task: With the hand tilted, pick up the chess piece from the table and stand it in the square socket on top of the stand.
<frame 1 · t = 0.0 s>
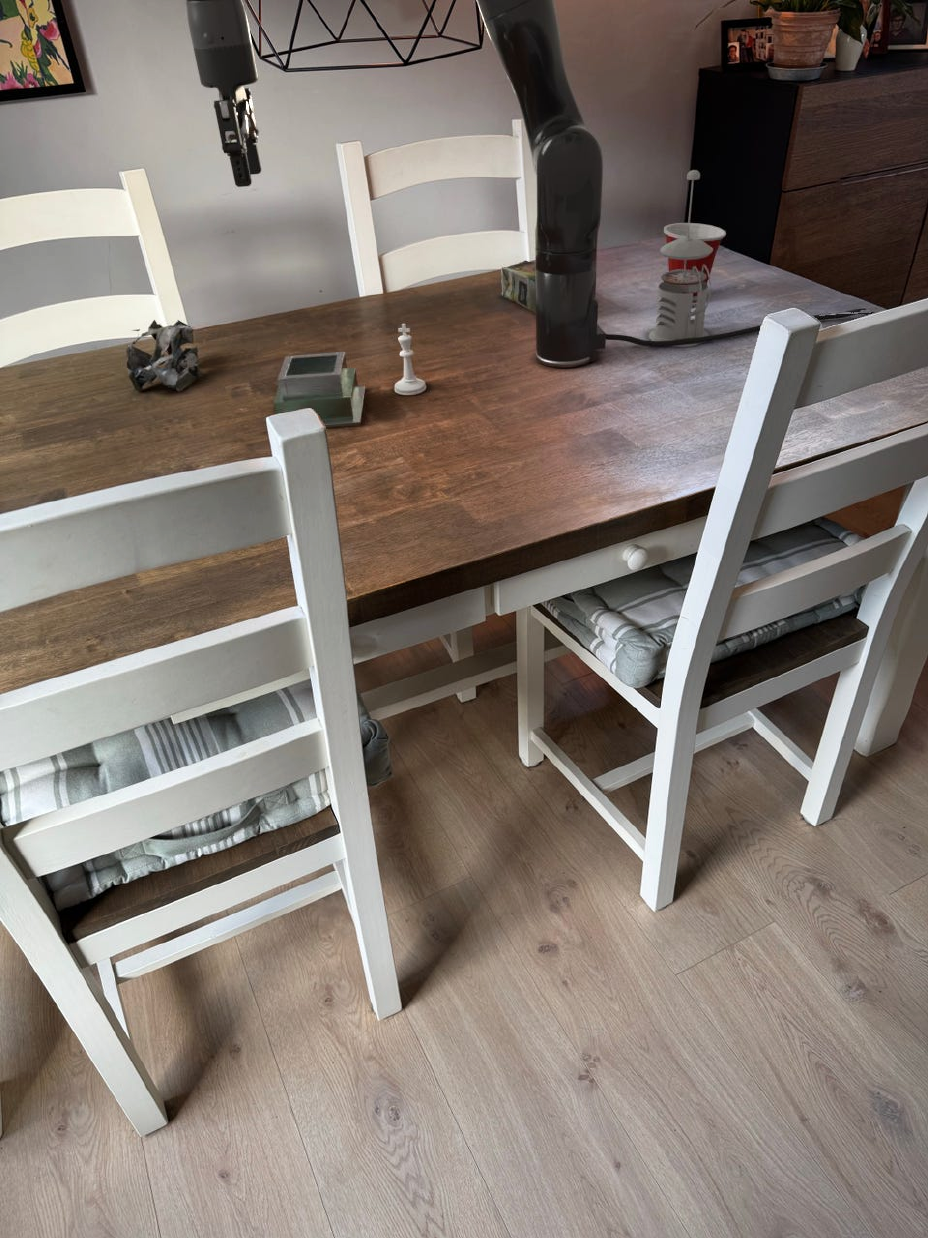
hand: (249, 179, 121), 29 cm above the table, tool pointing down, fingers open, 8 cm apart
plastic cup: (688, 298, 158), on the table
stand: (320, 410, 128), on the table
juice carton: (546, 305, 160), on the table
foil: (172, 378, 142), on the table
chess piece: (410, 389, 132), on the table
french press: (681, 338, 142), on the table
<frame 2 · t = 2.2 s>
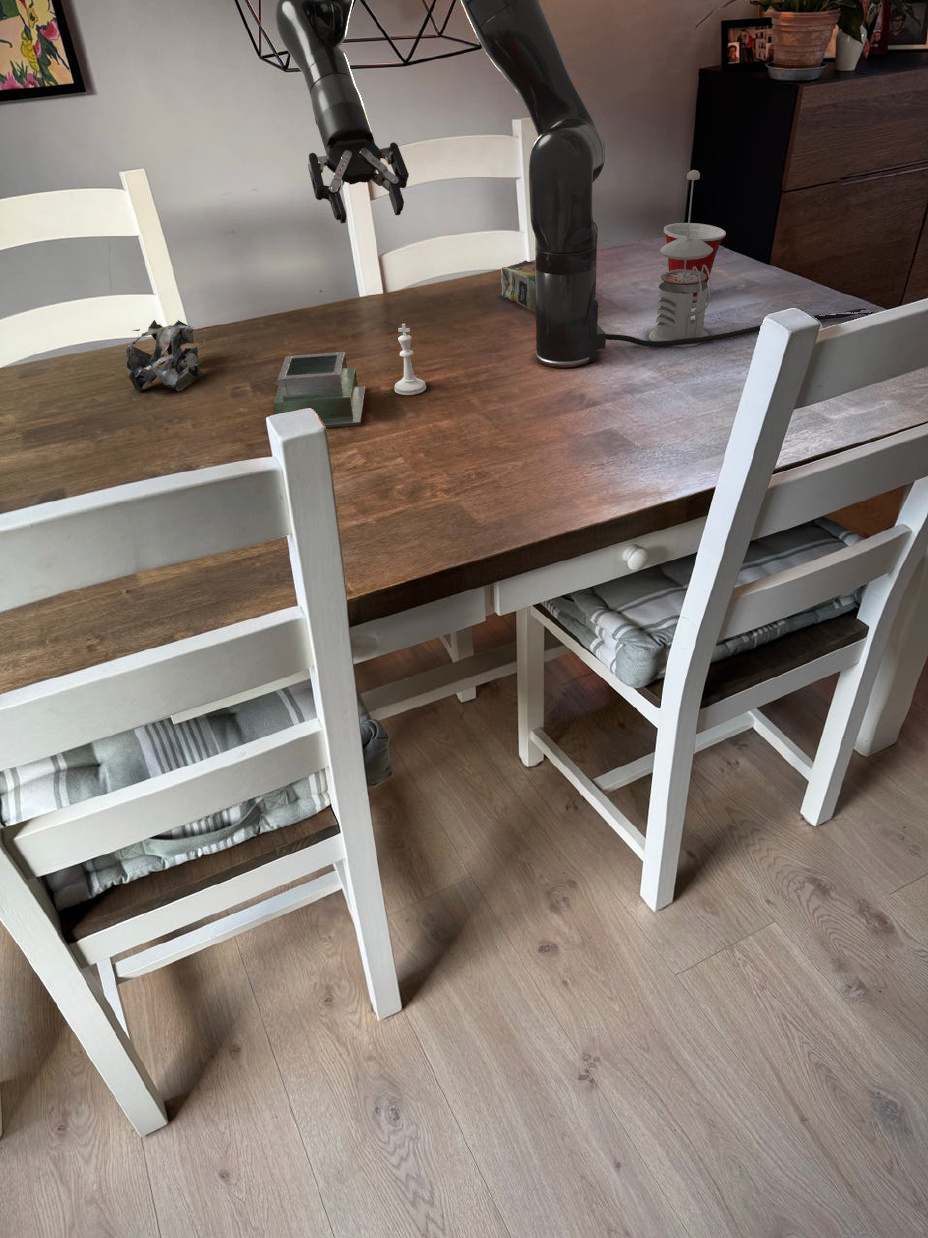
hand: (371, 215, 127), 23 cm above the table, tool tilted 45°, fingers open, 8 cm apart
nothing on the table moved.
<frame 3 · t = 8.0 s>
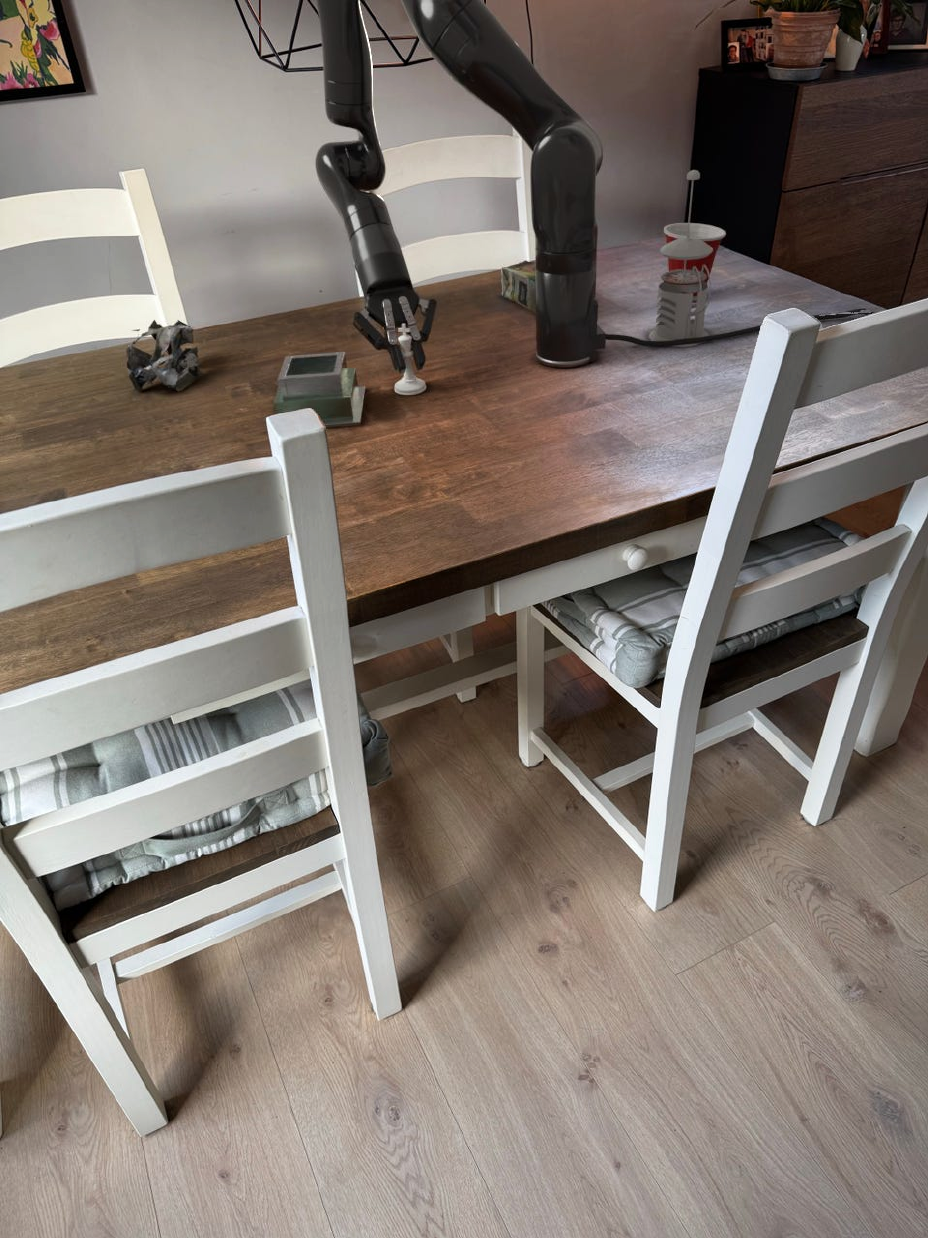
hand: (411, 368, 128), 4 cm above the table, tool tilted 45°, fingers closed on chess piece
chess piece: (410, 389, 132), on the table, touching gripper
everything else where it was.
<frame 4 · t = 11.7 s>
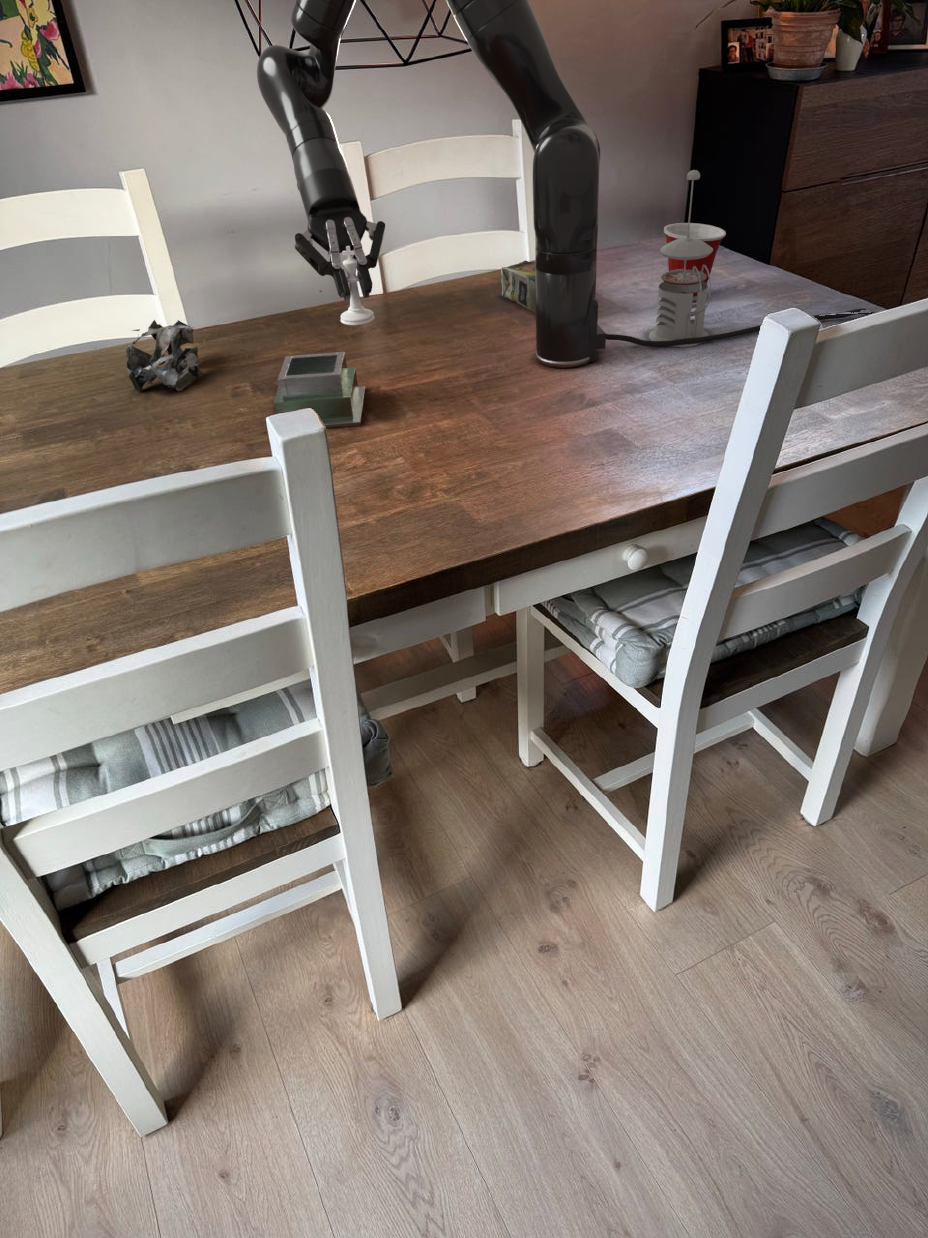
hand: (357, 295, 119), 16 cm above the table, tool tilted 45°, fingers closed on chess piece
chess piece: (357, 320, 123), point 12 cm above the table, touching gripper
everything else where it was.
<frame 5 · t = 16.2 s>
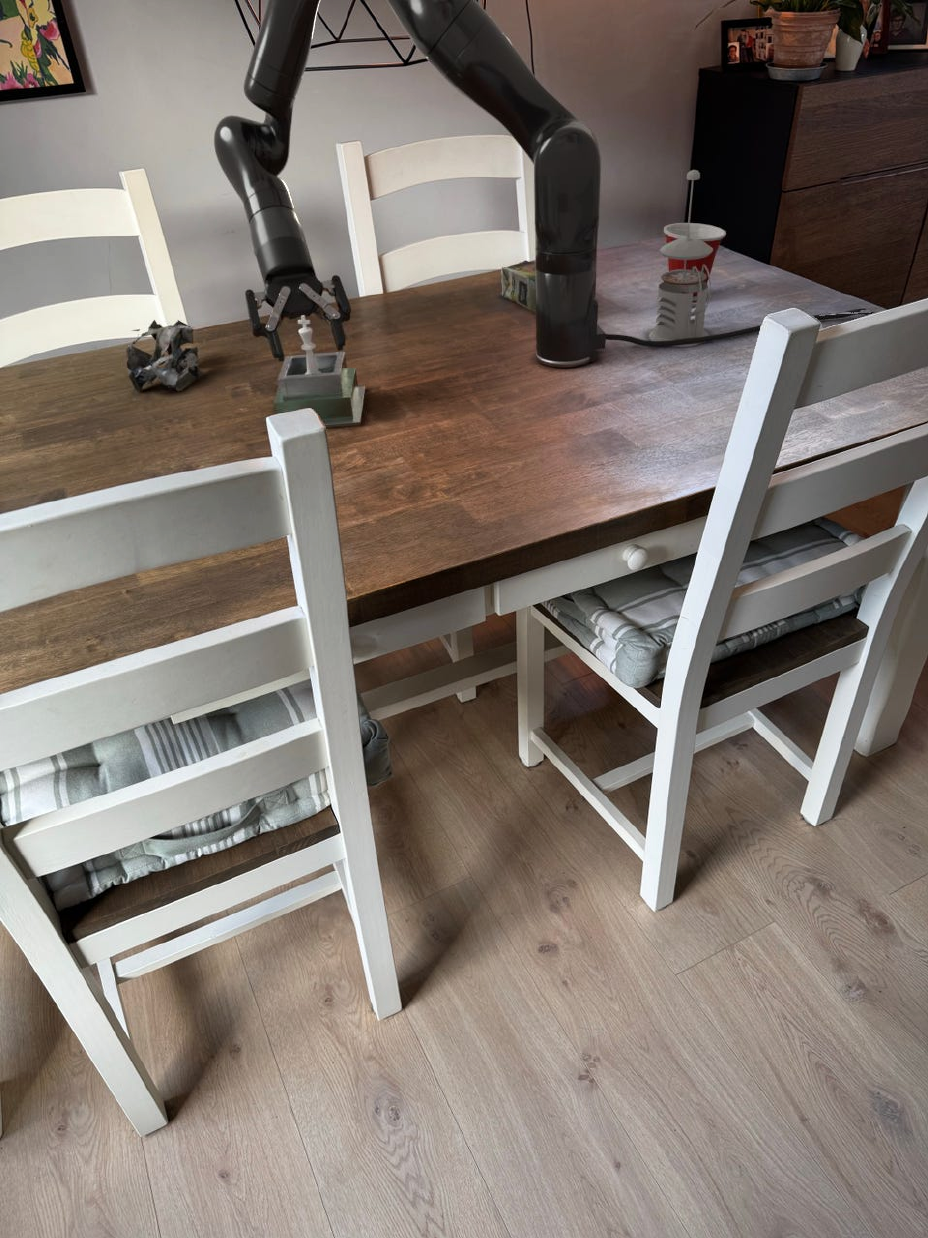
hand: (311, 353, 121), 9 cm above the table, tool tilted 45°, fingers open, 8 cm apart
chess piece: (315, 385, 126), point 4 cm above the table, touching stand
everything else where it was.
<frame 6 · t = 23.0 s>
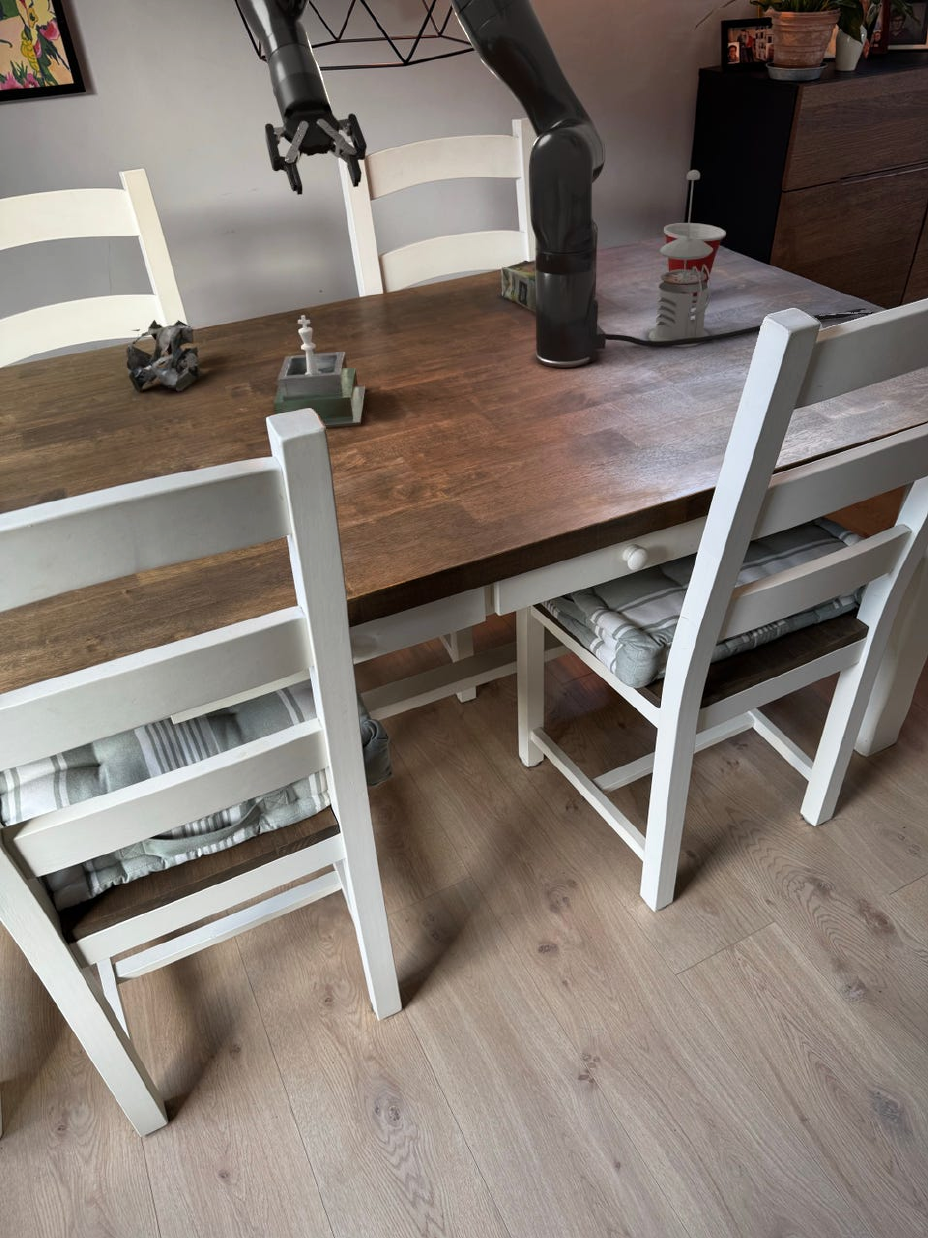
hand: (328, 187, 126), 27 cm above the table, tool tilted 45°, fingers open, 8 cm apart
nothing on the table moved.
at the end: chess piece 0.2 cm off-centre on the stand, point 3.8 cm above the stand's base; chess piece tilted 0°; the gripper is holding nothing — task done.
